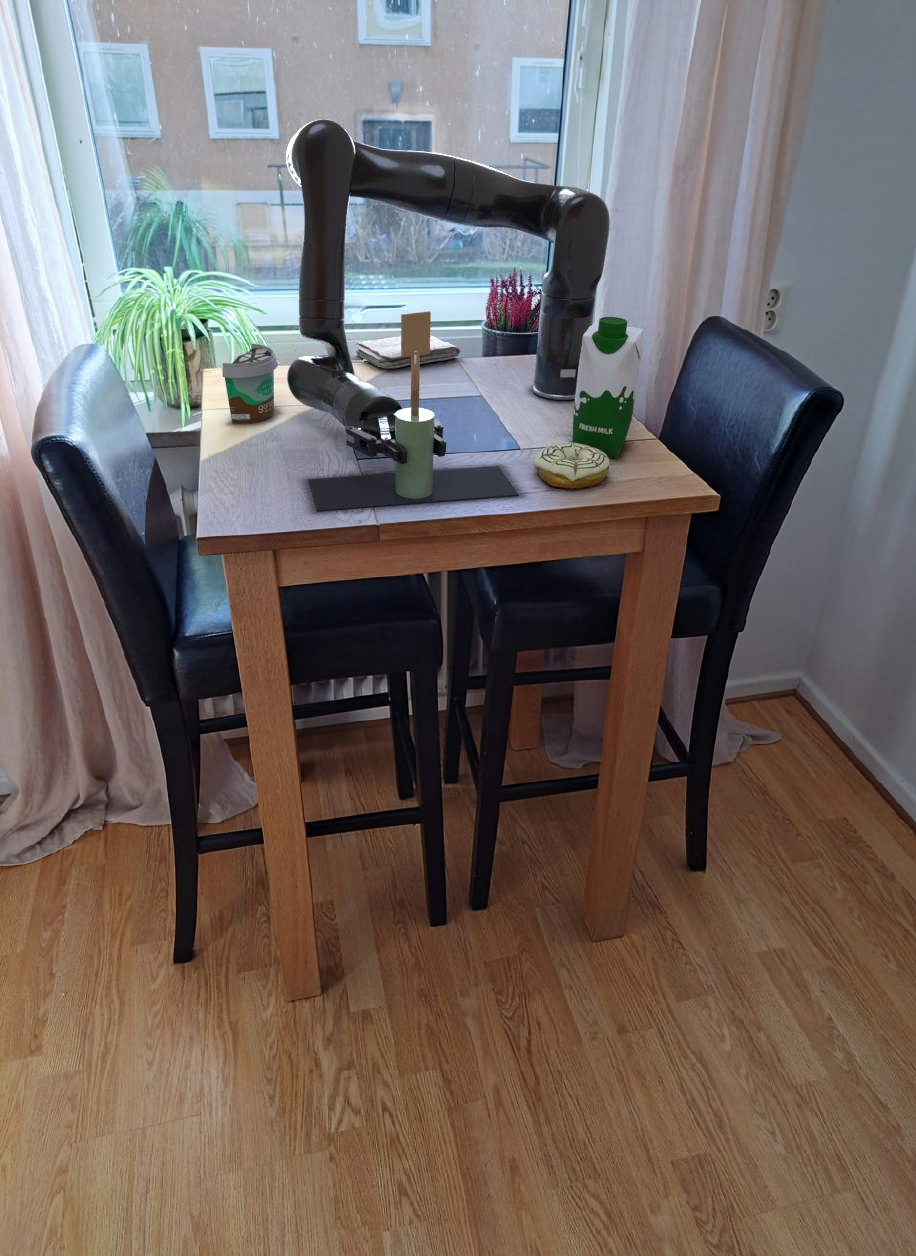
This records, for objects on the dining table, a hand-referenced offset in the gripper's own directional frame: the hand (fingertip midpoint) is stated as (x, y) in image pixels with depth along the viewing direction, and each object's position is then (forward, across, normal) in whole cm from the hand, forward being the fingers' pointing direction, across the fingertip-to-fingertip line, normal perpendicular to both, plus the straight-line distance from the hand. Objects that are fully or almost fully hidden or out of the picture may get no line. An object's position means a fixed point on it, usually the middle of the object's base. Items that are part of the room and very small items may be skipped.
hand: (424, 453), depth 117 cm
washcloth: (-58, +29, +7) cm, 65 cm away
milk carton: (-4, +34, +7) cm, 35 cm away
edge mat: (-4, 0, +7) cm, 8 cm away
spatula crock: (-3, 0, +6) cm, 7 cm away
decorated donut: (+3, +23, +7) cm, 24 cm away
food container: (-40, -8, +7) cm, 41 cm away
